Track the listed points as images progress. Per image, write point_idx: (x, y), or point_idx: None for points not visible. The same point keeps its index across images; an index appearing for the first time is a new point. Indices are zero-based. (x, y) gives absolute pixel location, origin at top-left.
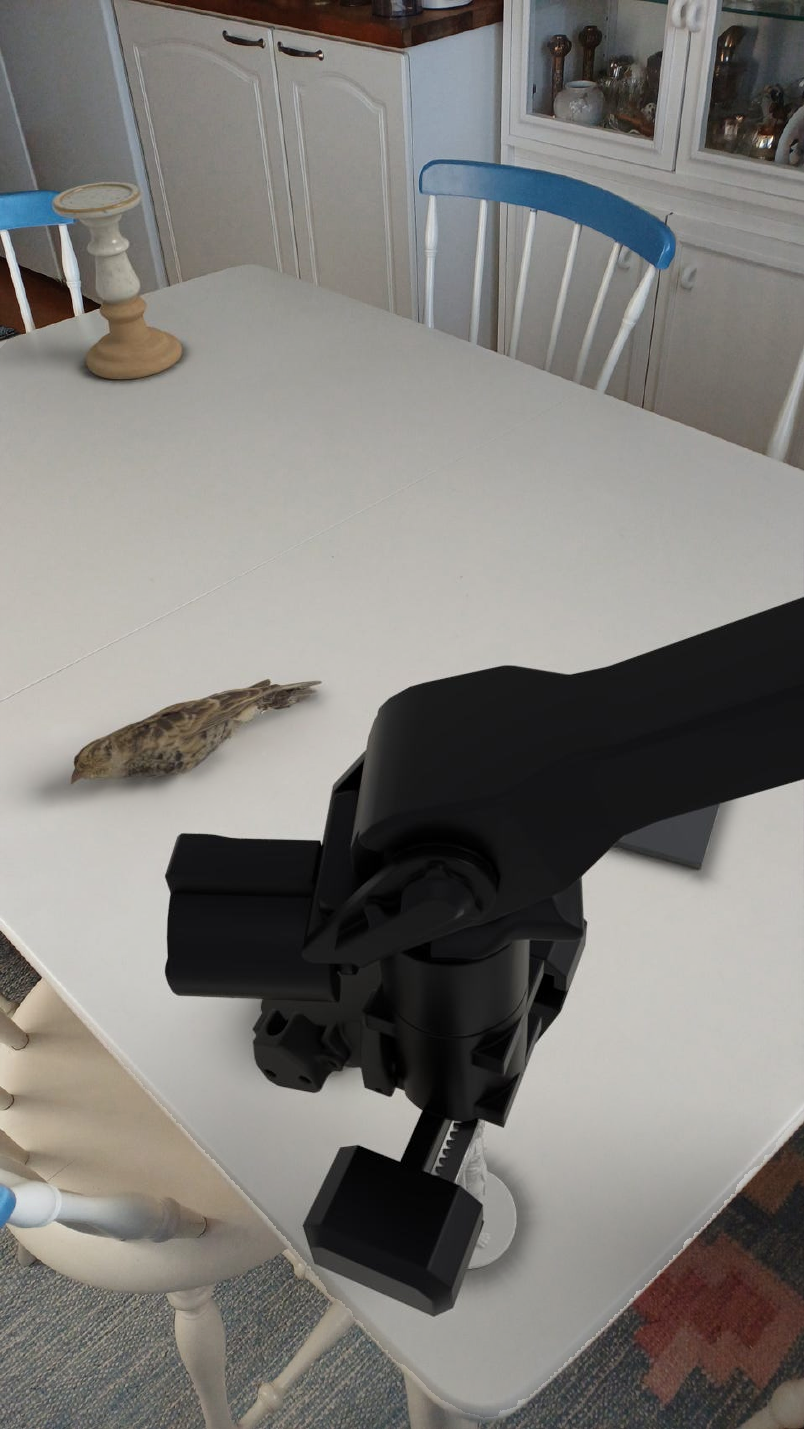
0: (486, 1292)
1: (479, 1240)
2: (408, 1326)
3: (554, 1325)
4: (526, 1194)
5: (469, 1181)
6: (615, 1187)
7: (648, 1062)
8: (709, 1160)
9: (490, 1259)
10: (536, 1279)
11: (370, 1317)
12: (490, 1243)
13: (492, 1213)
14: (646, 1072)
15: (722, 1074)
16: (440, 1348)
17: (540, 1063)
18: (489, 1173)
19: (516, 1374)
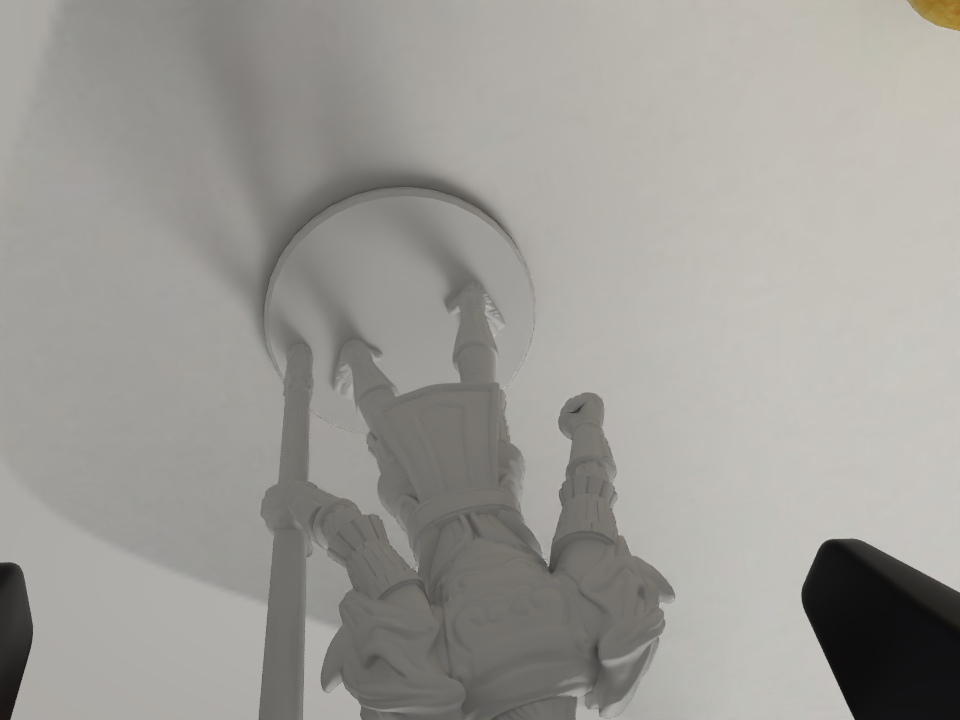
0: (238, 414)
1: (344, 382)
2: (58, 261)
3: (232, 554)
4: None
5: (406, 525)
6: None
7: None
8: None
9: (312, 411)
10: None
11: (20, 145)
12: (351, 400)
13: (426, 383)
14: (800, 562)
15: (798, 663)
16: (51, 355)
17: (820, 372)
18: (525, 347)
19: (93, 519)
